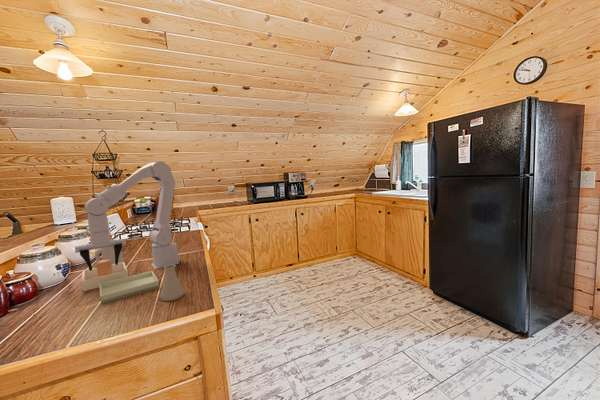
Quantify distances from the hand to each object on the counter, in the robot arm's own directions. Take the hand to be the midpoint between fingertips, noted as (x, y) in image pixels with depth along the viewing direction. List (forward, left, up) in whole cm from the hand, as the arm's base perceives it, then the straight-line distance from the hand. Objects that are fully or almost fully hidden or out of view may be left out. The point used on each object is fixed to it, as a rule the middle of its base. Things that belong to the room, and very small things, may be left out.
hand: (104, 266), depth 96 cm
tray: (-6, +15, -6) cm, 17 cm away
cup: (-2, -20, -6) cm, 21 cm away
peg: (0, 0, -5) cm, 5 cm away
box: (0, 0, -6) cm, 6 cm away
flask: (-16, +31, -6) cm, 35 cm away
